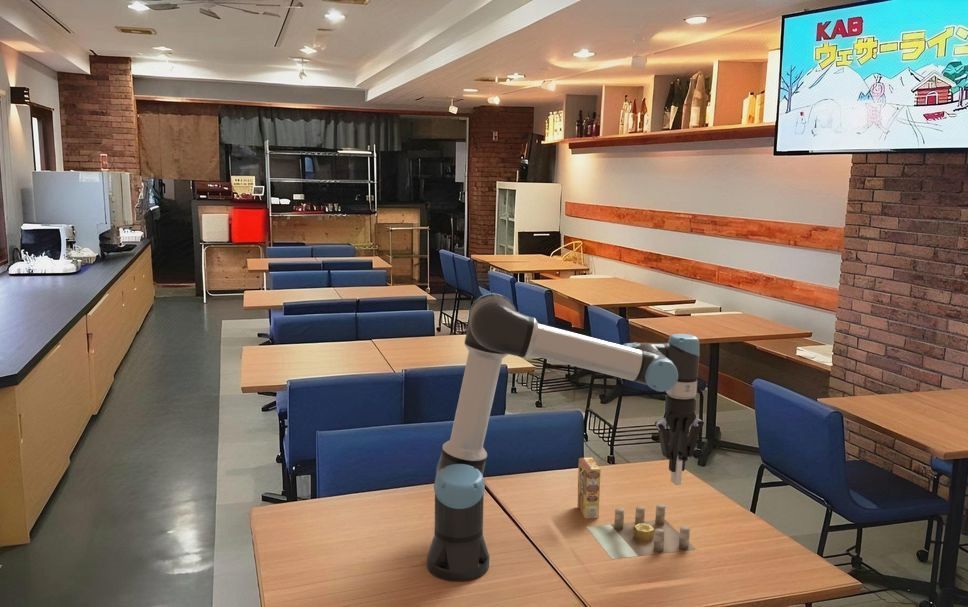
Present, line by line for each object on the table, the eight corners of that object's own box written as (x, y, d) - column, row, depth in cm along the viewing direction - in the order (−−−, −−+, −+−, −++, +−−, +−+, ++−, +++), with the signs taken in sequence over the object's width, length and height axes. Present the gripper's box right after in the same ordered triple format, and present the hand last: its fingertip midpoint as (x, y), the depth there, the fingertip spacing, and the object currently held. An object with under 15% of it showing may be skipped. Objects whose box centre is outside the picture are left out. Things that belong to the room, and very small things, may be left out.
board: (611, 563, 180) (613, 539, 179) (585, 531, 196) (586, 509, 195) (696, 553, 186) (698, 530, 185) (664, 523, 202) (665, 502, 201)
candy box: (599, 521, 202) (601, 469, 199) (584, 522, 201) (586, 469, 199) (590, 507, 210) (592, 456, 208) (575, 508, 210) (578, 457, 207)
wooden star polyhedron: (639, 543, 188) (640, 532, 188) (631, 533, 193) (631, 523, 192) (655, 541, 189) (656, 531, 189) (646, 532, 194) (647, 522, 193)
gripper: (664, 401, 181) (659, 491, 185) (712, 397, 184) (706, 486, 188) (650, 392, 188) (646, 479, 192) (696, 389, 192) (691, 475, 196)
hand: (675, 482), depth 190 cm, fingers closed
